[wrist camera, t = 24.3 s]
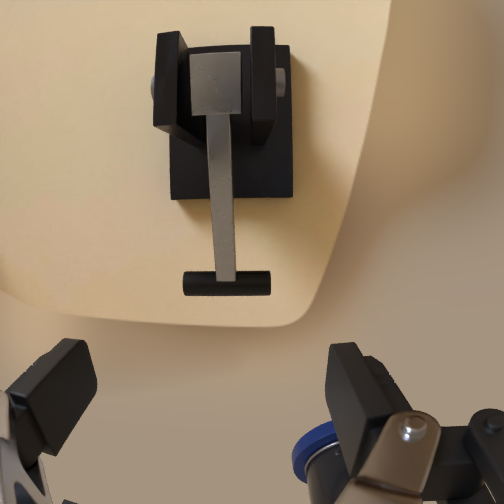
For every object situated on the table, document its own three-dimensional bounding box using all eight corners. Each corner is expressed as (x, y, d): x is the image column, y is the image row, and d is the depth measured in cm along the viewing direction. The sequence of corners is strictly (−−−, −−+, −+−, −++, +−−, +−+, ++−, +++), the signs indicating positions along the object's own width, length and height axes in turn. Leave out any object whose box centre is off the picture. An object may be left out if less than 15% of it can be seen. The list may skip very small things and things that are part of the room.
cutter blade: (268, 281, 20) (271, 305, 18) (189, 281, 20) (183, 306, 18) (271, 56, 13) (274, 51, 11) (169, 61, 13) (156, 58, 11)
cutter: (290, 196, 24) (326, 215, 13) (174, 198, 24) (111, 219, 13) (287, 50, 21) (314, -32, 10) (174, 54, 21) (124, -20, 10)
